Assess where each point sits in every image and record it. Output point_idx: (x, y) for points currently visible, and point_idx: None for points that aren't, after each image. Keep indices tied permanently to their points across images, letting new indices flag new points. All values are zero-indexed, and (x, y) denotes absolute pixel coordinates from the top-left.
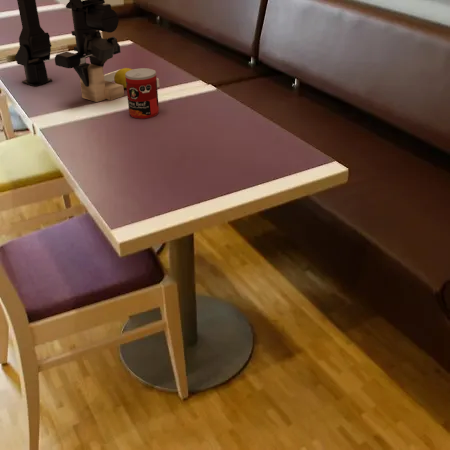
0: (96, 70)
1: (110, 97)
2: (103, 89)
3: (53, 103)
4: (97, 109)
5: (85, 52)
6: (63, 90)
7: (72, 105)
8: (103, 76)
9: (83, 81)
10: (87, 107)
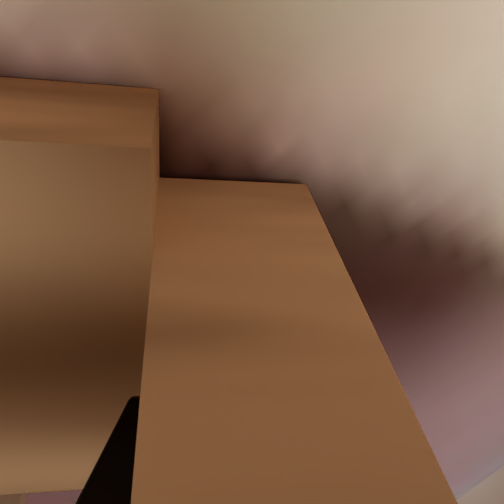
0: None
1: (157, 109)
2: (188, 250)
3: (433, 400)
4: (490, 15)
5: None
6: None
7: (437, 297)
8: (153, 426)
9: None
10: (453, 165)
